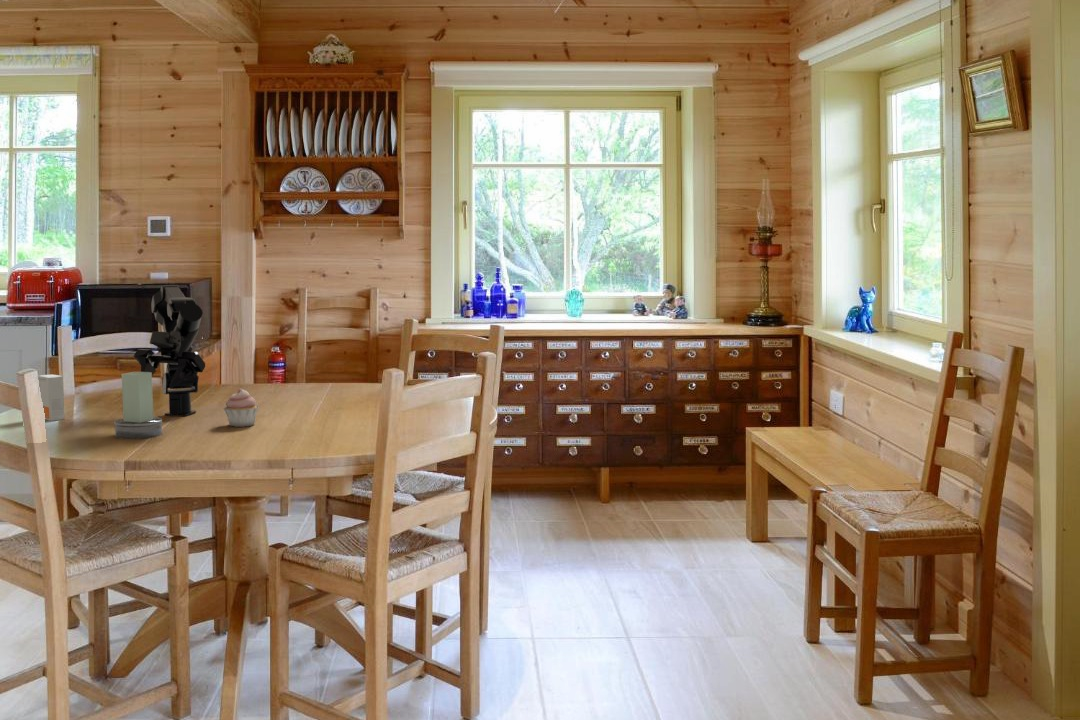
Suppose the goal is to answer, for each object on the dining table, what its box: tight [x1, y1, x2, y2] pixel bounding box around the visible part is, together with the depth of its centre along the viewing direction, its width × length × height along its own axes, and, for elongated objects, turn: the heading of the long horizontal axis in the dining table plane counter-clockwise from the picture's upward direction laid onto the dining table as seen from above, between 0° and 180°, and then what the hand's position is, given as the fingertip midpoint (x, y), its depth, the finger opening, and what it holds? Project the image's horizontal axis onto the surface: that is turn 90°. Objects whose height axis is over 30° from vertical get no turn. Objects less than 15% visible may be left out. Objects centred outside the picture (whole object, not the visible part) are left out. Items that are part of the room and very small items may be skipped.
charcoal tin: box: [113, 416, 163, 440], centre depth 255 cm, size 11×11×4 cm
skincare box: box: [37, 373, 66, 422], centre depth 275 cm, size 6×4×12 cm
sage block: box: [121, 371, 154, 423], centre depth 254 cm, size 5×5×12 cm
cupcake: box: [222, 387, 260, 428], centre depth 269 cm, size 9×9×10 cm
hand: (155, 385), depth 261 cm, fingers open, 9 cm apart
